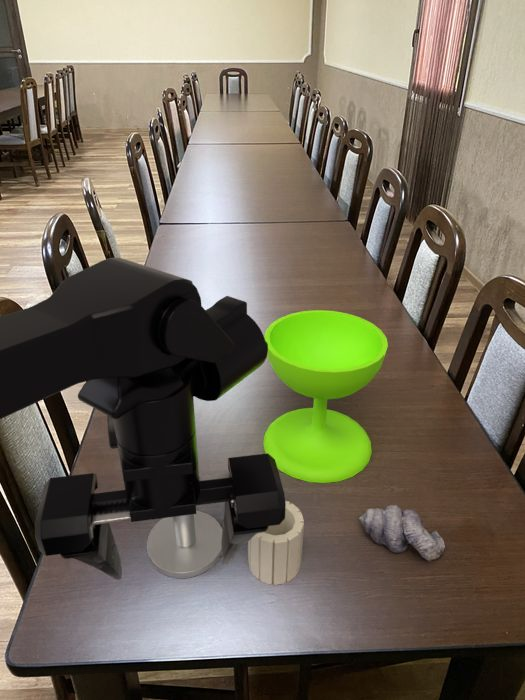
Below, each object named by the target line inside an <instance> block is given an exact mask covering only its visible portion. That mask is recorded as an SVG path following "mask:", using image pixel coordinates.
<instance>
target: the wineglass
mask: <svg viewBox="0 0 525 700" xmlns="http://www.w3.org/2000/svg"><path fill="white" fill-rule="evenodd" d="M264 338H265V341H266V342H267V344H268V353H267V359H268V362H269V364H270V366H271V368H272V370H273V372H274V374H275V375H276V376H277V377H278V378H279V380H280V381H281V382H283V383H284V384H285V385H286V386H287V387H288V388H290V389H291V390H292V391H294V392H295V393H298V394H300V395H301V396H305V397H307V398H312V399H313V404H312V405H313V406H312V407H305V408H297V409H294V410H291V411H288V412H285V413H284V414H282V415H280V416H278V417H277V418H276V419H274V421H273V422H271V423H270V424H269V426H268V427H267V429H266V431H265V433H264V436H263V442H262V446H263V451H264V454H267V453H268V454H269V455H270V456H272V457H273V458H274V459H275V462H276V465H277V469H278V471H280V472H282V473H284V474H285V475H287V476H289V477H292V478H293V479H296V480H300V481H304V482H307V483H316V484H328V483H329V484H330V483H339V482H342V481H344V480H348V479H351V478H353V477H354V476H356V475H357V474H359V473H360V472H362V471H363V470H364V469H365V468H366V467H367V465H368V464H369V462H370V460H371V456H372V453H373V450H372V449H373V448H372V442H371V439H370V437H369V434H368V433H367V431H366V430H365V429H364V428H363V426H361V424H359V422H357V421H356V420H354V419H353V418H352V417H350V416H348V415H346V414H344V413H341V412H339V411H336V410H333V409H332V410H331V409H328V400H336V399H341V398H346V397H348V396H351V395H353V394H355V393H356V392H358V391H360V390H361V389H363V388H364V387H366V386H367V385H368V384H369V383H370V382H371V381H372V380H373V379H374V378H375V376H376V375H377V373H379V371H380V369H381V368H382V365H383V363H384V360H385V357H386V355H387V354H386V353H387V350H388V347H389V343H388V339H387V336H386V335H385V333H384V332H383V331H382V330H381V328H379V327H377V326H376V324H374V323H373V322H371V321H368V320H367V319H364V318H363V317H360V316H357V315H354V314H350V313H347V312H342V311H341V312H340V311H337V310H321V309H316V310H315V309H313V310H302V311H298V312H292V313H289V314H287V315H284V316H282V317H279V318H277V319H276V320H275V321H273V322H271V323H270V324H269V325H268V327H267V328H266V330H265V333H264Z"/></svg>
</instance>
